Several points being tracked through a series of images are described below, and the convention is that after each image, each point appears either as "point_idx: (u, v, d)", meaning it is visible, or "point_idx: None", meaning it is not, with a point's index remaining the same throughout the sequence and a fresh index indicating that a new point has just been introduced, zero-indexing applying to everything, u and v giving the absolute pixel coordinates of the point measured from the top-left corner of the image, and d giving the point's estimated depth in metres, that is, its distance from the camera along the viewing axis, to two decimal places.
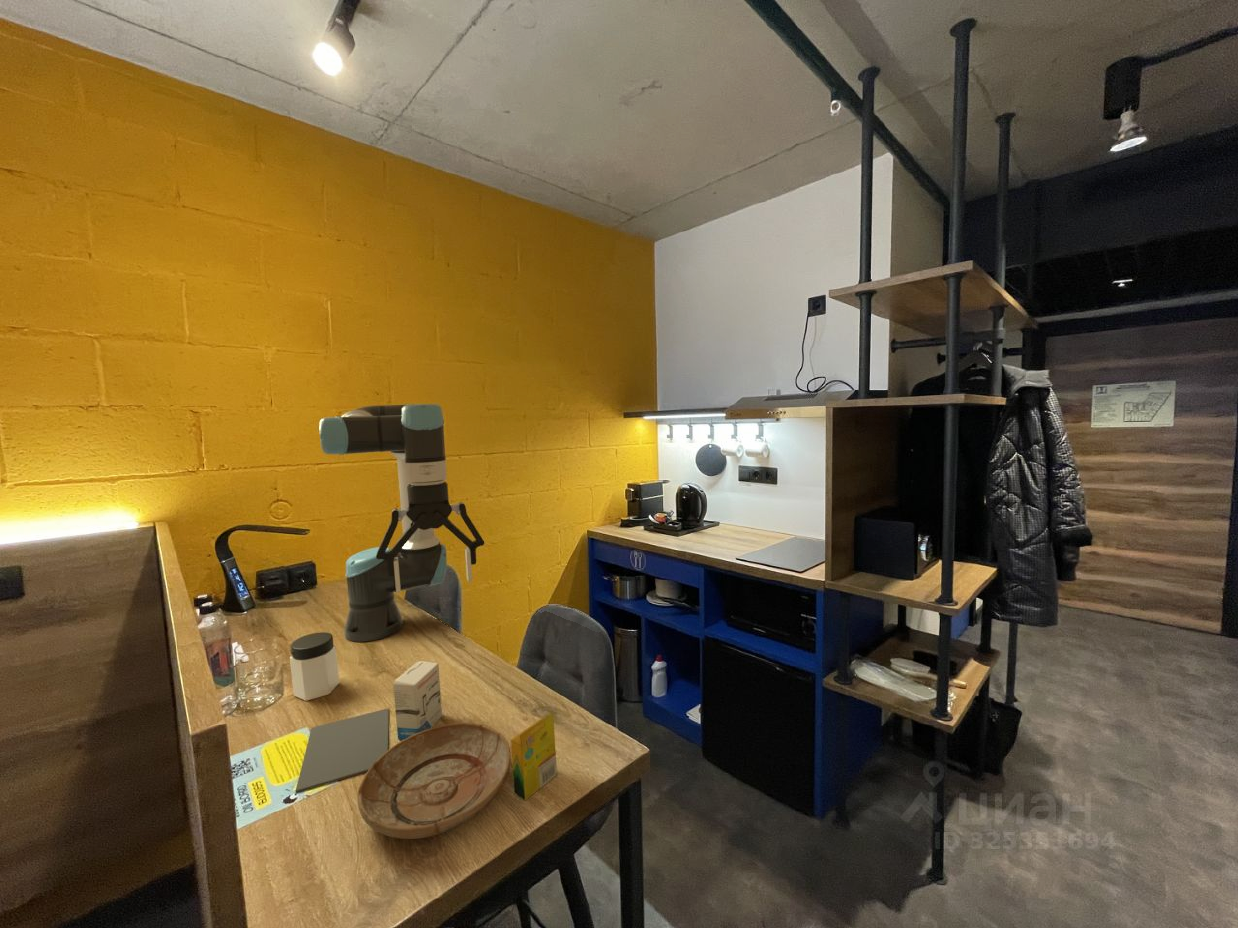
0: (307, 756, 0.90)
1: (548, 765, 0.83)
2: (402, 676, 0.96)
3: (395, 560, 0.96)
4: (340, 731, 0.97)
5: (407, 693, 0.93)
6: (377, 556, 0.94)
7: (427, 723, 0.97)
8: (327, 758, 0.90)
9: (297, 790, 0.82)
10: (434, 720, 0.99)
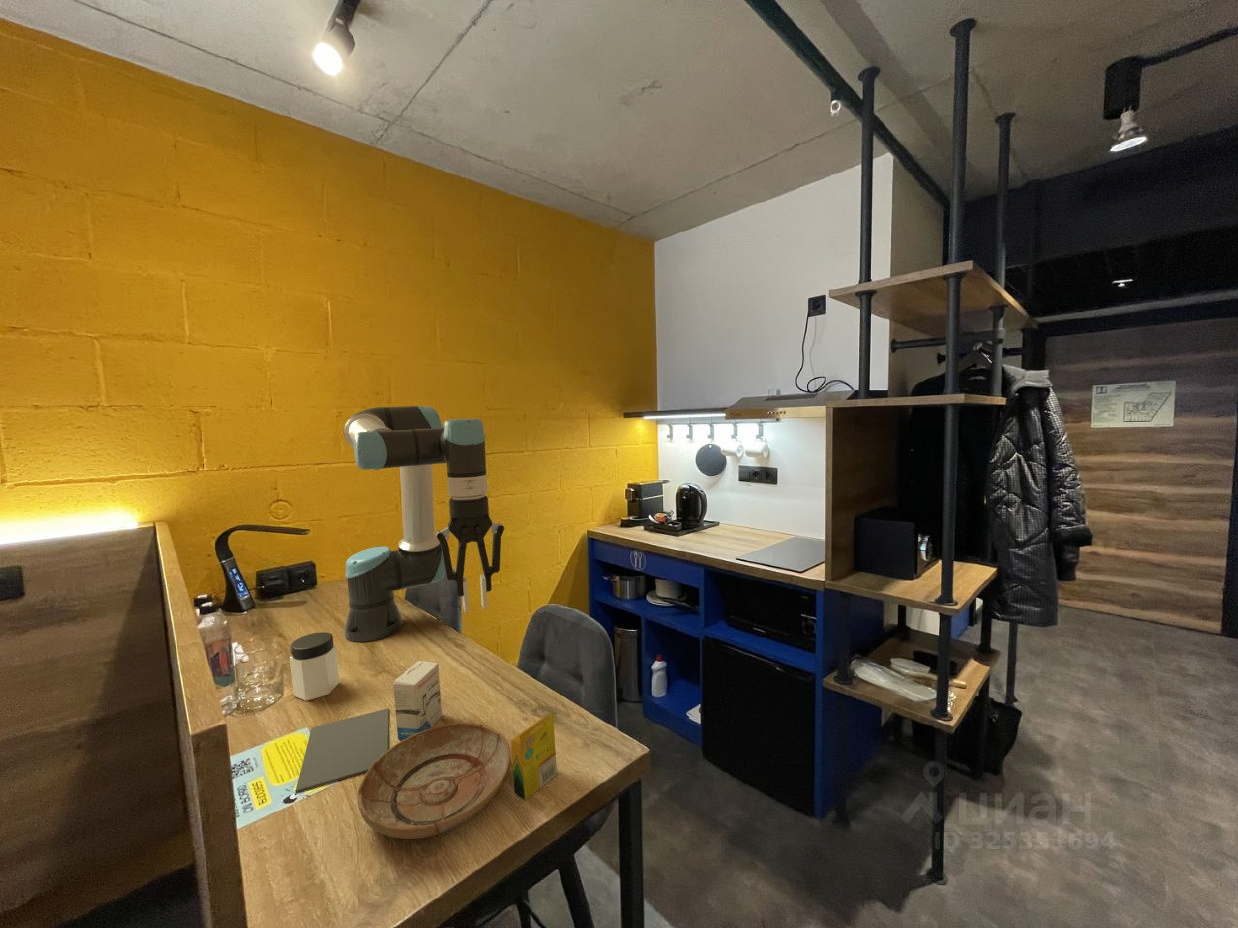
0: (307, 756, 0.90)
1: (548, 765, 0.83)
2: (402, 676, 0.96)
3: (464, 580, 0.99)
4: (340, 731, 0.97)
5: (407, 693, 0.93)
6: (448, 578, 0.97)
7: (427, 723, 0.97)
8: (327, 758, 0.90)
9: (297, 790, 0.82)
10: (434, 720, 0.99)
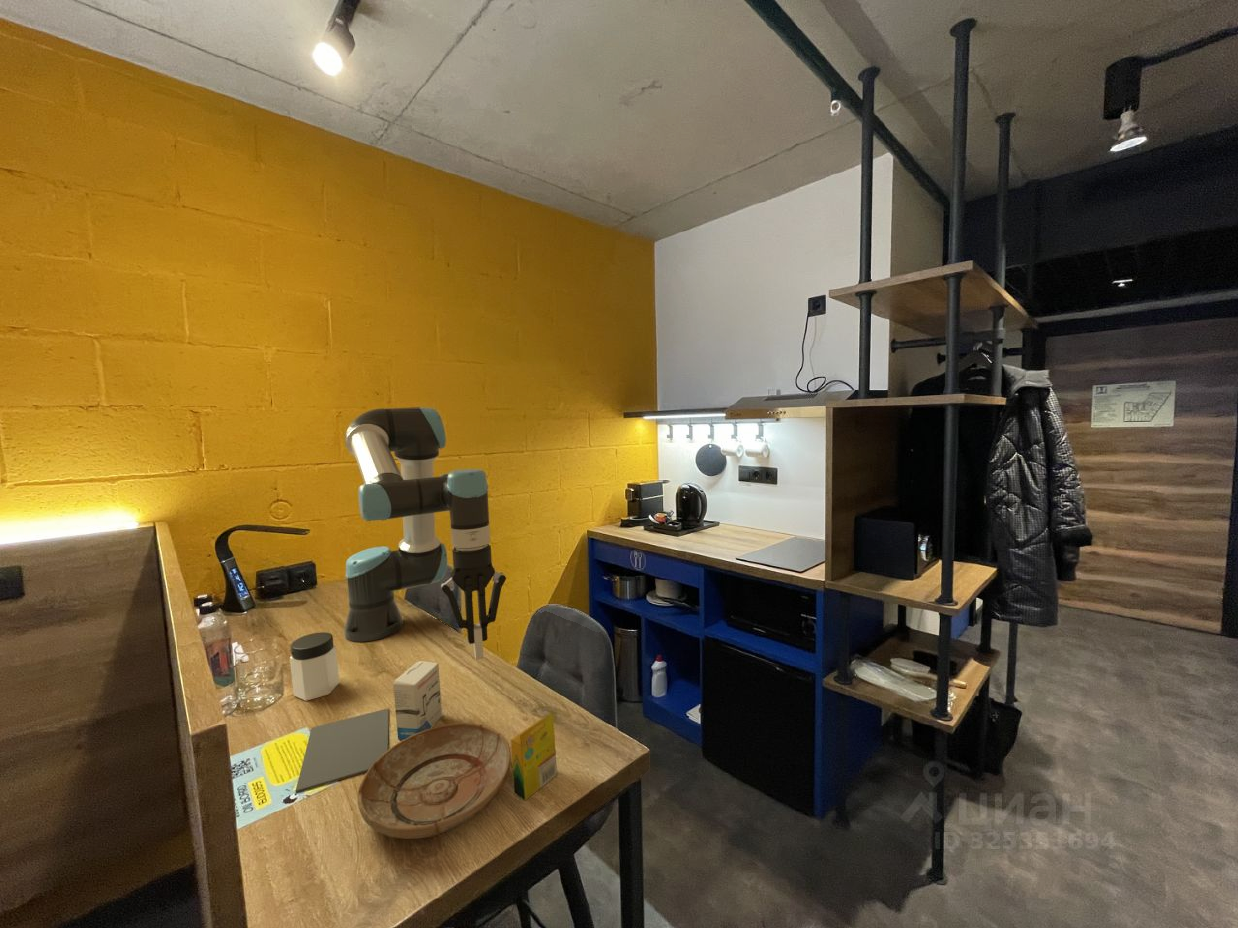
0: (307, 756, 0.90)
1: (548, 765, 0.83)
2: (402, 676, 0.96)
3: (475, 628, 1.00)
4: (340, 731, 0.97)
5: (407, 693, 0.93)
6: (460, 627, 0.99)
7: (427, 723, 0.97)
8: (327, 758, 0.90)
9: (297, 790, 0.82)
10: (434, 720, 0.99)
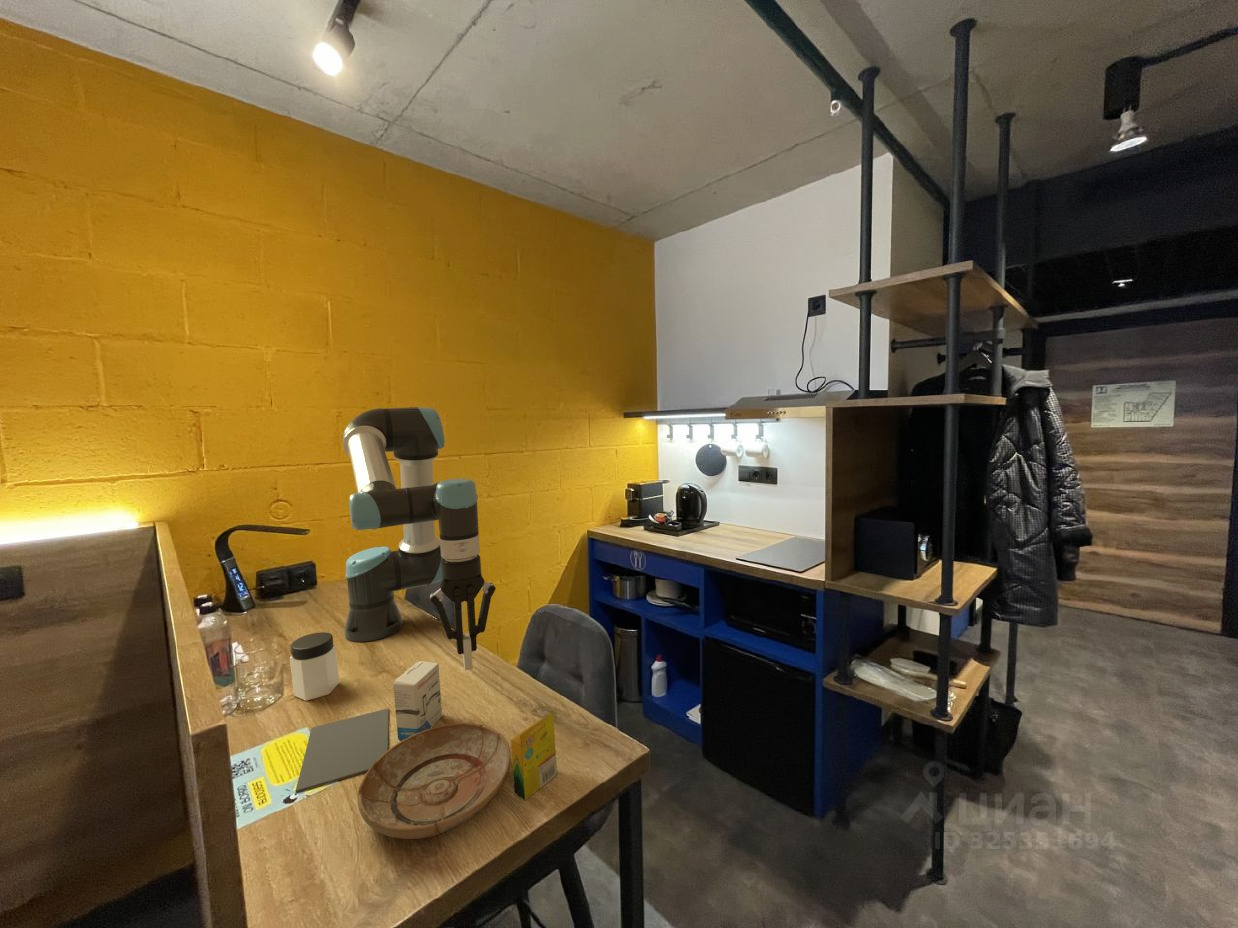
0: (307, 756, 0.90)
1: (548, 765, 0.83)
2: (402, 676, 0.96)
3: (464, 638, 1.00)
4: (340, 731, 0.97)
5: (407, 693, 0.93)
6: (449, 637, 0.98)
7: (427, 723, 0.97)
8: (327, 758, 0.90)
9: (297, 790, 0.82)
10: (434, 720, 0.99)
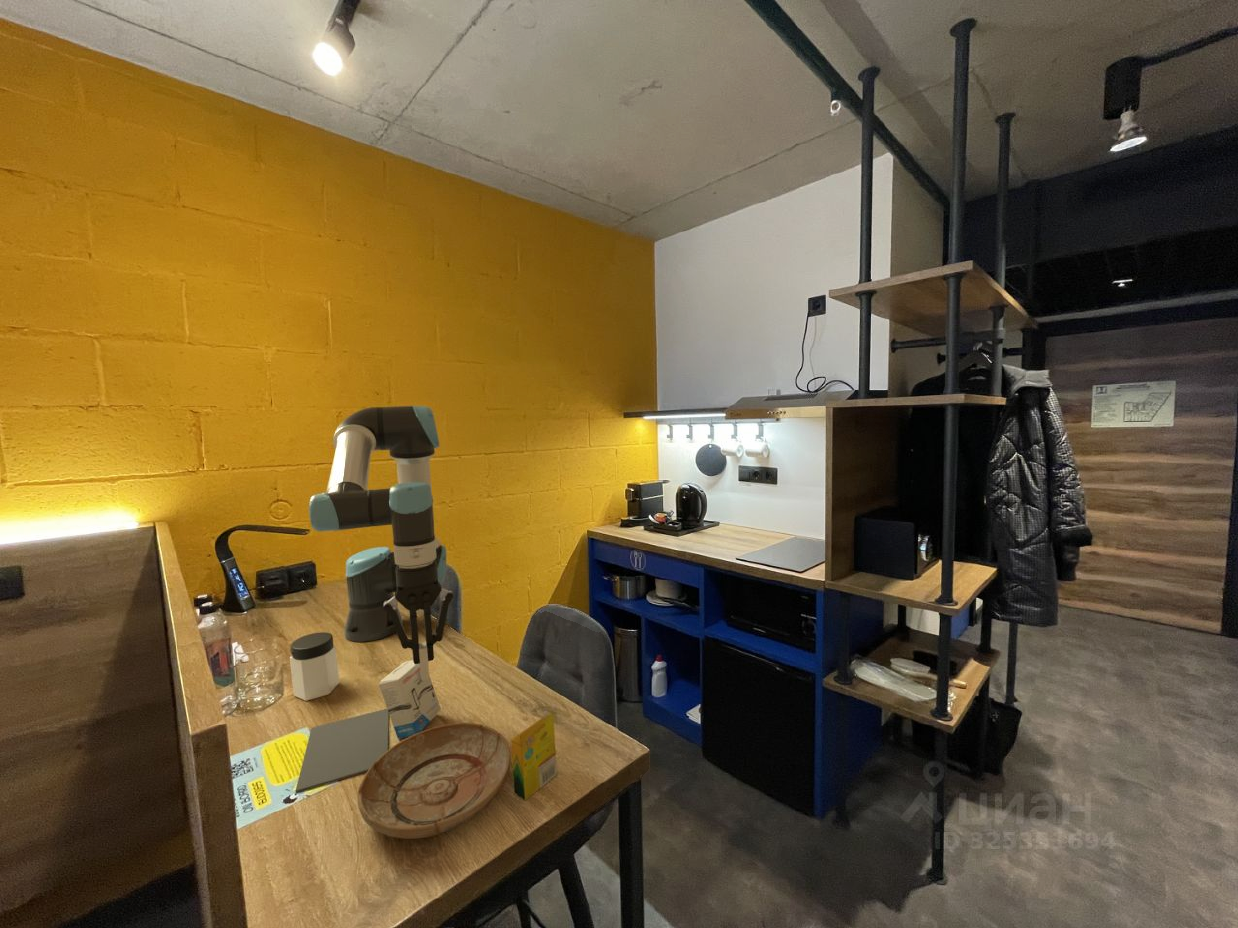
0: (307, 756, 0.90)
1: (548, 765, 0.83)
2: (387, 676, 0.96)
3: (420, 648, 0.96)
4: (340, 731, 0.97)
5: (394, 689, 0.94)
6: (403, 647, 0.95)
7: (423, 717, 0.97)
8: (327, 758, 0.90)
9: (297, 790, 0.82)
10: (432, 714, 0.99)
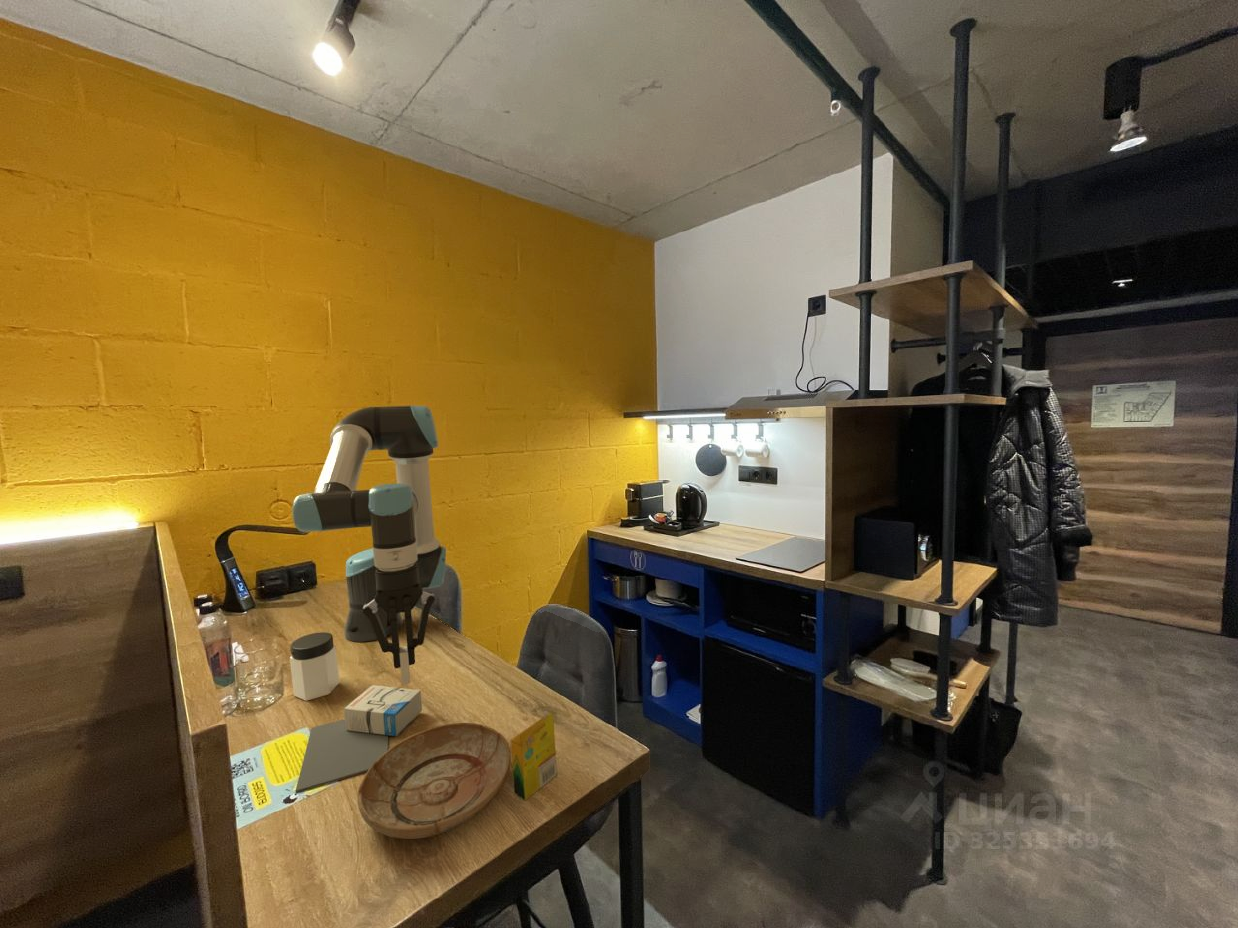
0: (307, 756, 0.90)
1: (548, 765, 0.83)
2: None
3: (401, 651, 0.95)
4: (340, 731, 0.97)
5: (352, 716, 0.97)
6: (383, 651, 0.93)
7: (396, 703, 0.98)
8: (327, 758, 0.90)
9: (297, 790, 0.82)
10: (408, 697, 1.00)
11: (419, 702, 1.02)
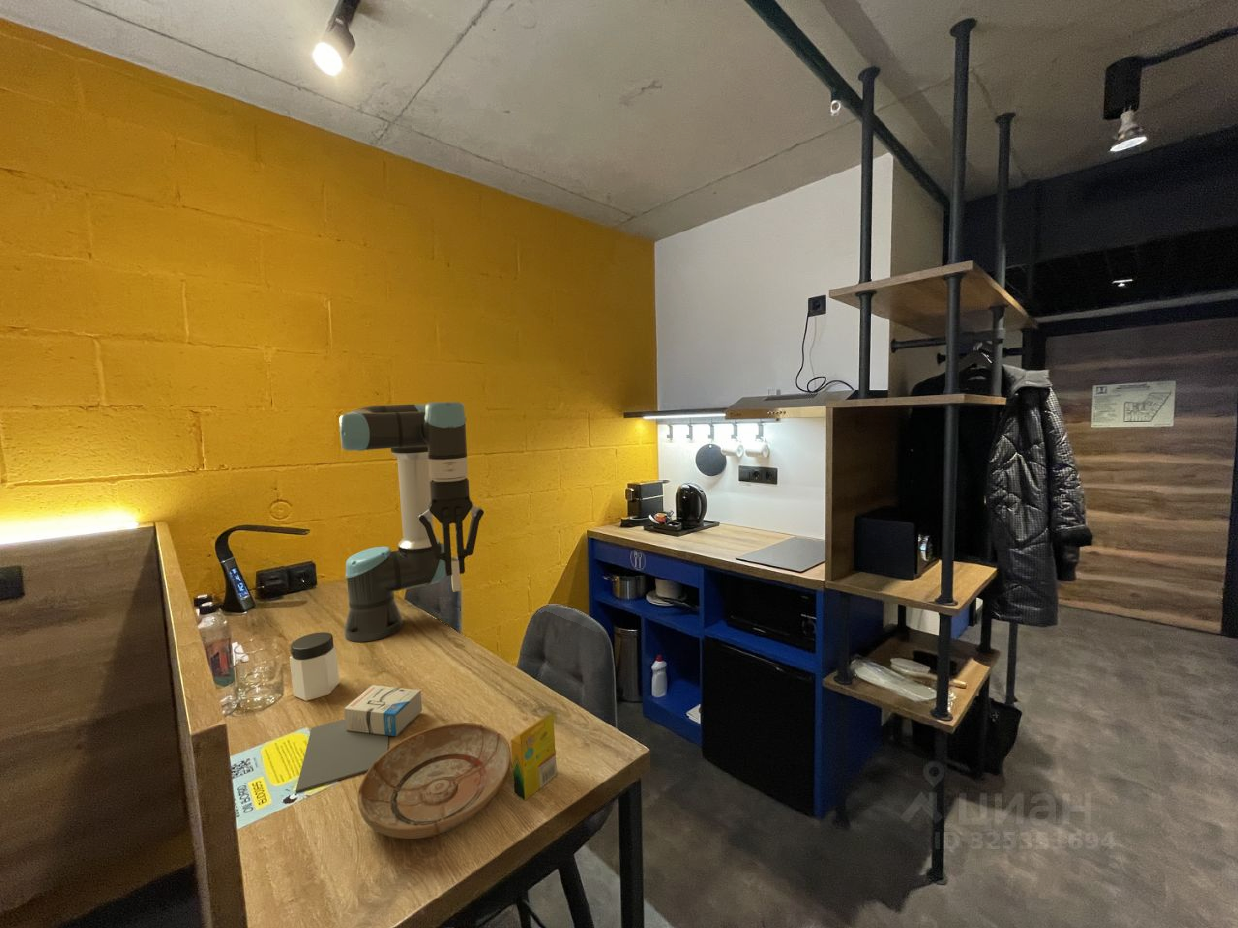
0: (307, 756, 0.90)
1: (548, 765, 0.83)
2: None
3: (452, 560, 1.01)
4: (340, 731, 0.97)
5: (352, 716, 0.97)
6: (437, 558, 0.99)
7: (396, 703, 0.98)
8: (327, 758, 0.90)
9: (297, 790, 0.82)
10: (408, 697, 1.00)
11: (419, 702, 1.02)
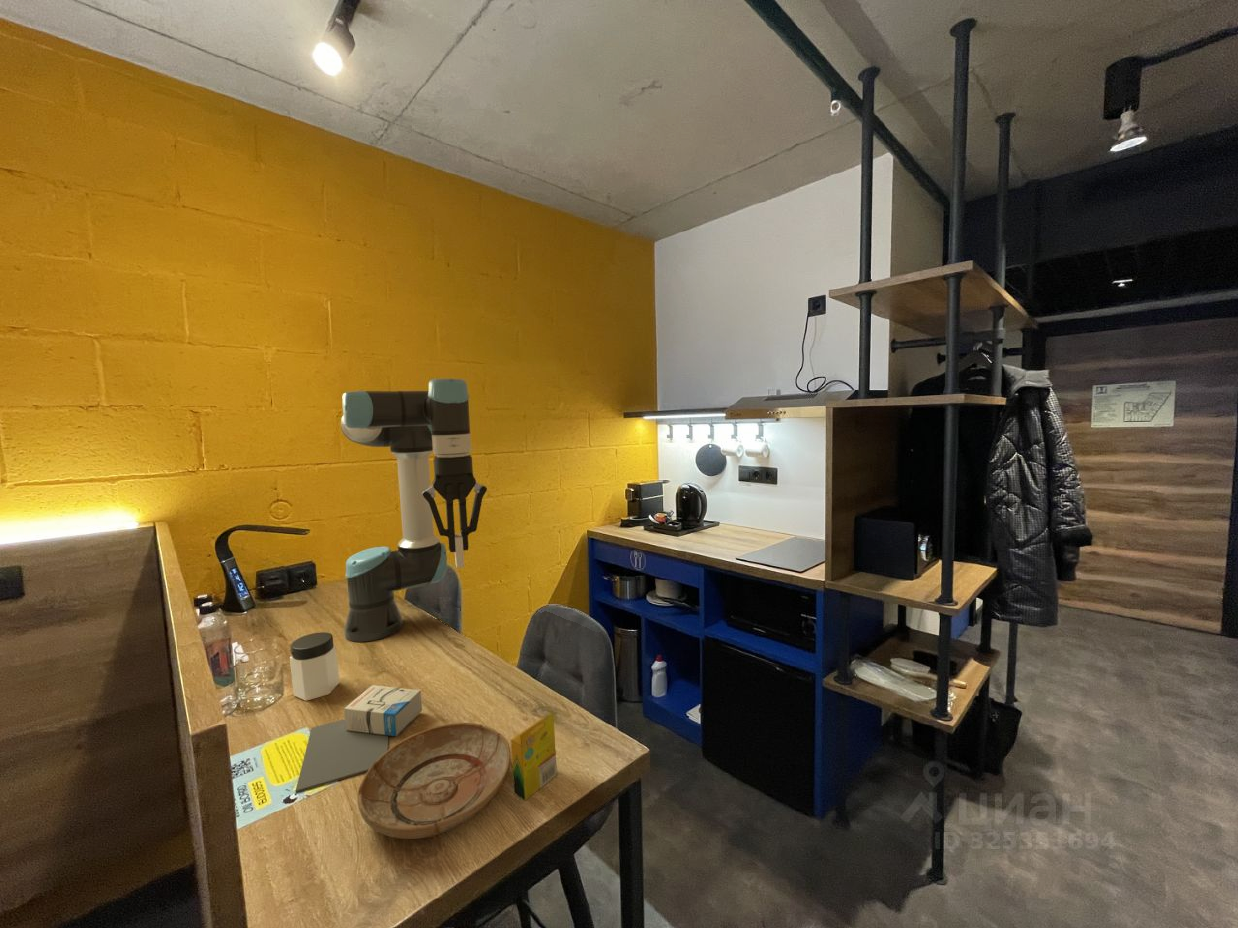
0: (307, 756, 0.90)
1: (548, 765, 0.83)
2: None
3: (456, 537, 1.02)
4: (340, 731, 0.97)
5: (352, 716, 0.97)
6: (441, 534, 1.00)
7: (396, 703, 0.98)
8: (327, 758, 0.90)
9: (297, 790, 0.82)
10: (408, 697, 1.00)
11: (419, 702, 1.02)
